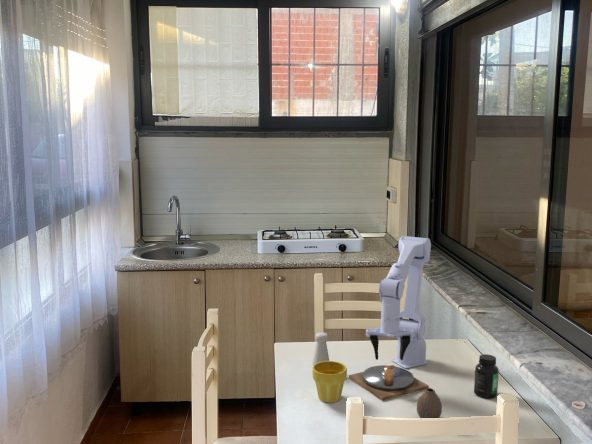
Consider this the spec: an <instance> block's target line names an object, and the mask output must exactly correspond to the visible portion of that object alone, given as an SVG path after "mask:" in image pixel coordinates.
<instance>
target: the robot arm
mask: <svg viewBox="0 0 592 444" xmlns="http://www.w3.org/2000/svg"><path fill="white" fill-rule="evenodd" d="M397 248H398V252H399V256H398V260H397V262H394V263H393V264H392V266H391V267H390V269H389V271H388V273H387V275H386V277H385V278H384V279H381V280H380V282H379V288H378V294H379V302H380V303H381V308H380V309H381V311H380V312H381V313H380V327H378V328H377V327H376V328H366V329H365V336H366V338H369V340H370V342H371V345H372V347H373V350H374V358H375V360H377V361H378V360H379V341H380V340H379V337H380V338H381V337H383V338H385V337H387V338H396V339H397V353H396V357H394V358H392V359H391V362H393V363H395V364H397V365H398V366H400V367H401V368H403V369H410V368H414V367H418V366H423V365H427V364H428V362H427V360H426V356H427V344H426V340H425V338H424V337H425V331H426V325H425V324H426V323H425V322H426V319H425V316H423V313H421V312H420V310H419V304H420V294H421V288H422V287H421V286H422V277H423V269H424V266H425V264H426V263H429V262H430V257H431V252H432V251H431V249H432V242H431V239H430V238H429V237H426V238H425V237H417V236H416V237H415V236H408V235H402V236H401V237H399V240H398V247H397ZM405 283H406V288H405ZM404 289H405V290H404ZM404 291H405V295H404ZM403 295H404V296H405V297H404V304H403V305H404V306H403V309H402V310H401V299H402V297H403Z"/></svg>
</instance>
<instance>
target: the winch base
mask: <svg viewBox="0 0 592 444" xmlns="http://www.w3.org/2000/svg"><path fill="white" fill-rule="evenodd" d="M390 366H395V367H397V366H396V365H394V364H392V365H390ZM363 372H364V371H361V372H356V373H351V374H349V375H348V379H349V380H350V381H352V382H354V383H355V384H357V385H358V386H360V387H361V388H363V389H364V390H365V391H367V392H369V394H371V395H373V396H374V397H376V398H377V399H378V400H380V401H381V402H383V401H386V400H390V399H394V398H398V397H402V396H407V395H409V394H414V393H417V392H421V391H425V390H426V389H427V388H430V385H428V384H426V382H423V381H422V380H420V379H418V378H416V377H414V382H413V384H412V385H411V386H410V387H408V388H406V389H402V390H383V389H378V388H375V387H372V386H370V385H368V384H367V383H365V382H364V380H363Z"/></svg>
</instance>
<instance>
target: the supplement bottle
mask: <svg viewBox="0 0 592 444" xmlns="http://www.w3.org/2000/svg"><path fill="white" fill-rule="evenodd" d="M474 368H475V369H474V383H473V386H474V387H473V393H474V394H475V395H476V397H479V398H481V399H485V400H486V399H487V400H491V399H495V398H496V397H497V396H498V388H499V386H498V385H499V375H500V371H499V367H498V366H497V357H496V356H494V355H491V354H480V355H479V360H478V363H477V364H476V365H475V367H474Z"/></svg>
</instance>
